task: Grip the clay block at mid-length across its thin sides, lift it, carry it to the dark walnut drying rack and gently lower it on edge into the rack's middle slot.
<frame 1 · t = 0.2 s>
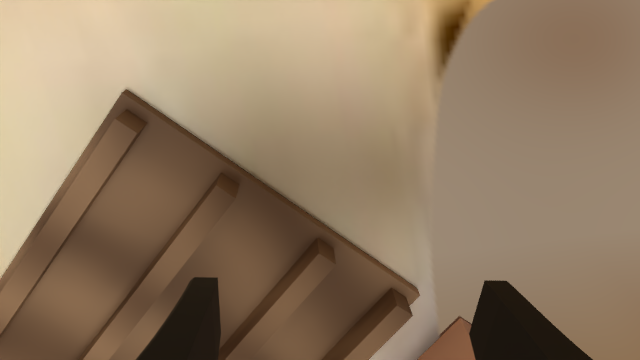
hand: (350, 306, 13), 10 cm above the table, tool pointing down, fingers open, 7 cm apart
rack: (193, 311, 26), on the table
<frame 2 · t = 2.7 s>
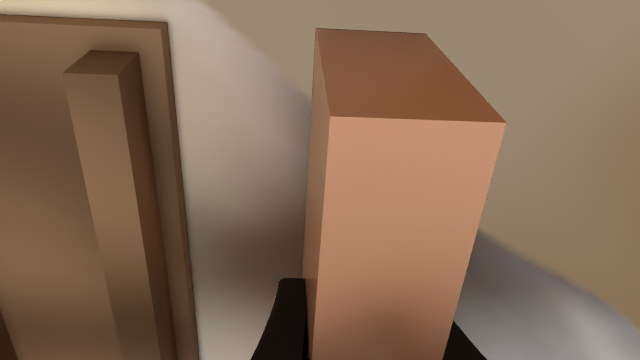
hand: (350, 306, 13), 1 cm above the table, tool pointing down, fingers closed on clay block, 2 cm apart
clay block: (344, 269, 15), on the table, touching gripper
when the fingers open (3 cm above the table, at t = 6.7 s): clay block stays where it is, resting on rack.
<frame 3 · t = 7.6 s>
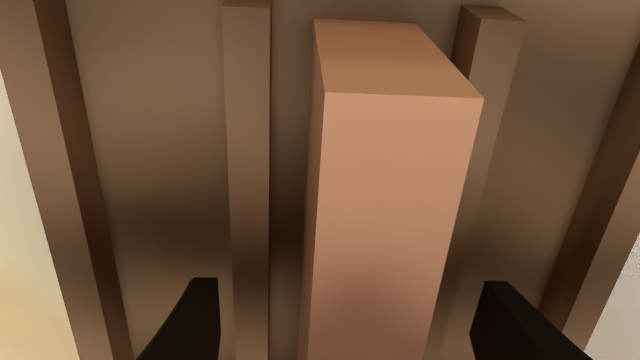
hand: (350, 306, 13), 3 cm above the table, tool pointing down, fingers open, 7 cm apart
rack: (340, 239, 16), on the table
clay block: (341, 250, 16), point 1 cm above the table, touching rack
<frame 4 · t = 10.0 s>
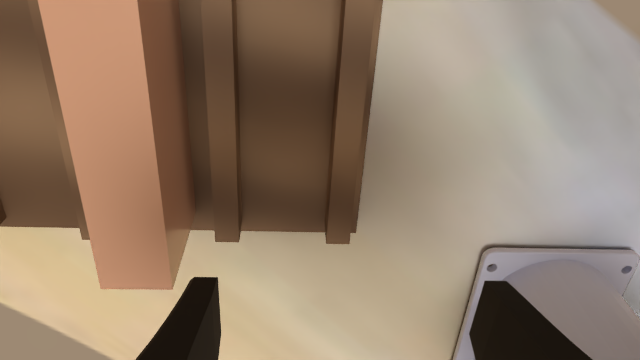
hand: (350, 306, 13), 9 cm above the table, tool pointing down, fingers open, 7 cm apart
rack: (153, 50, 19), on the table
clay block: (149, 54, 19), point 1 cm above the table, touching rack
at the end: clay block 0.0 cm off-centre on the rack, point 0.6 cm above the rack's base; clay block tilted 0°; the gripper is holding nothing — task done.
